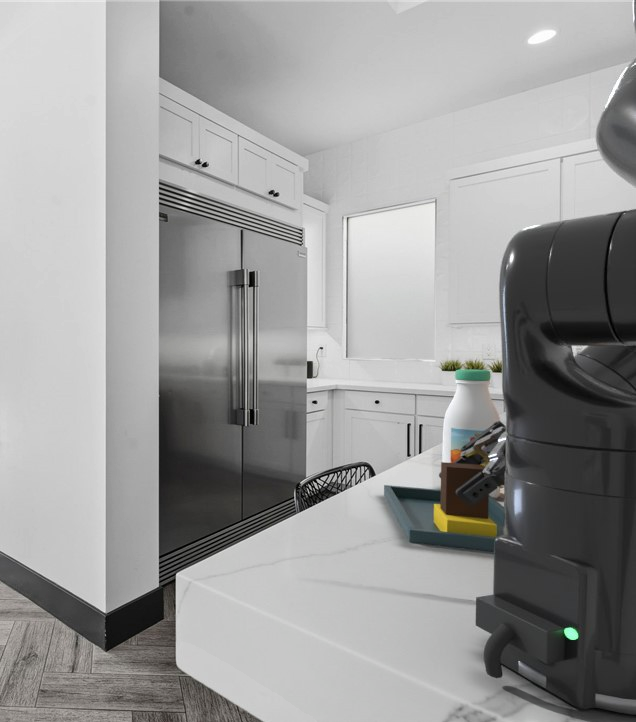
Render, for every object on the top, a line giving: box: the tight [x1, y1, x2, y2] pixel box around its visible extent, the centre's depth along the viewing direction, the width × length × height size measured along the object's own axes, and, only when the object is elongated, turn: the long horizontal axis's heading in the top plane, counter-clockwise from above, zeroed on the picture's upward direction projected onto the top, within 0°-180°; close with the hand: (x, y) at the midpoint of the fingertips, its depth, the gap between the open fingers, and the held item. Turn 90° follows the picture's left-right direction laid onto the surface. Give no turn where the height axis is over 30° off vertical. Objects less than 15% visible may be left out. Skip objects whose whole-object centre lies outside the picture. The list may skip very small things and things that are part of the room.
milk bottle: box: [441, 369, 501, 499], centre depth 85 cm, size 8×8×20 cm
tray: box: [383, 484, 504, 553], centre depth 71 cm, size 22×14×2 cm, turn 159°
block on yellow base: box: [434, 461, 497, 537], centre depth 66 cm, size 7×5×8 cm
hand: (452, 490), depth 67 cm, fingers open, 8 cm apart
